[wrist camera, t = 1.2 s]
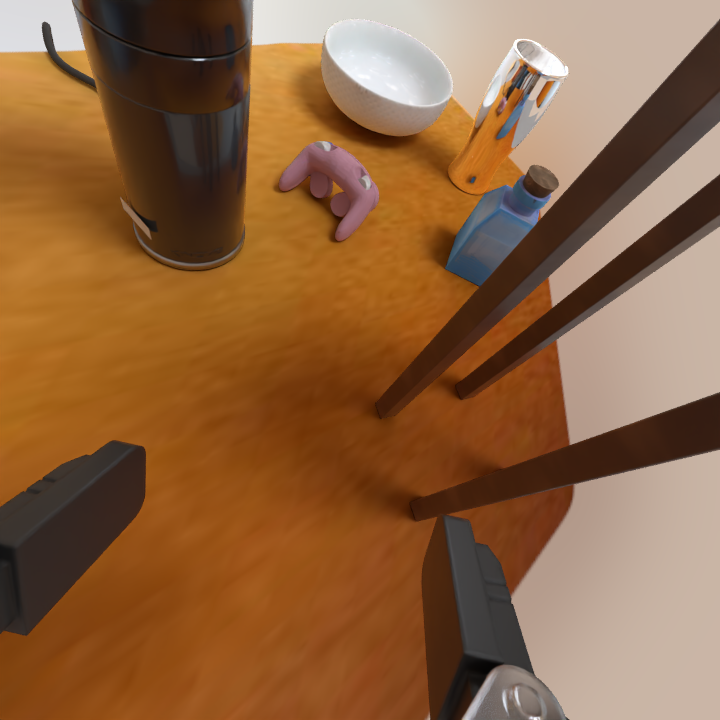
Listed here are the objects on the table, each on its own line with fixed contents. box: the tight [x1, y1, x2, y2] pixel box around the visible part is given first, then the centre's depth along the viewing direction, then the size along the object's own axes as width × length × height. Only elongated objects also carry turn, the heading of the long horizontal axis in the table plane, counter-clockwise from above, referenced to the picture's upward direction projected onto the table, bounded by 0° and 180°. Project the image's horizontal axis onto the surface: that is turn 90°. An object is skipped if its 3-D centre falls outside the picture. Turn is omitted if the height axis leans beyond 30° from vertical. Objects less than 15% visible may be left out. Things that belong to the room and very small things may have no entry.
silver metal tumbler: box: [448, 39, 569, 195], centre depth 47 cm, size 7×7×15 cm
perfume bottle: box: [445, 165, 559, 286], centre depth 41 cm, size 6×6×12 cm
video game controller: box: [279, 141, 379, 241], centre depth 41 cm, size 10×5×7 cm, turn 49°
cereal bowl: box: [321, 19, 453, 136], centre depth 51 cm, size 17×17×7 cm
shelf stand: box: [375, 19, 720, 521], centre depth 20 cm, size 10×10×33 cm
